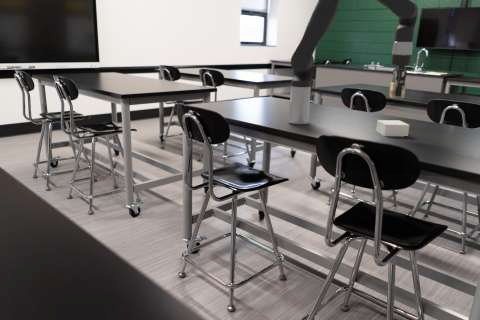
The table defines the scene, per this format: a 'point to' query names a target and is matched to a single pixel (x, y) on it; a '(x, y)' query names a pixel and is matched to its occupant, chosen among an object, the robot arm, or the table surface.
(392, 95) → the beech block
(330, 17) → the robot arm
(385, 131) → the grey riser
